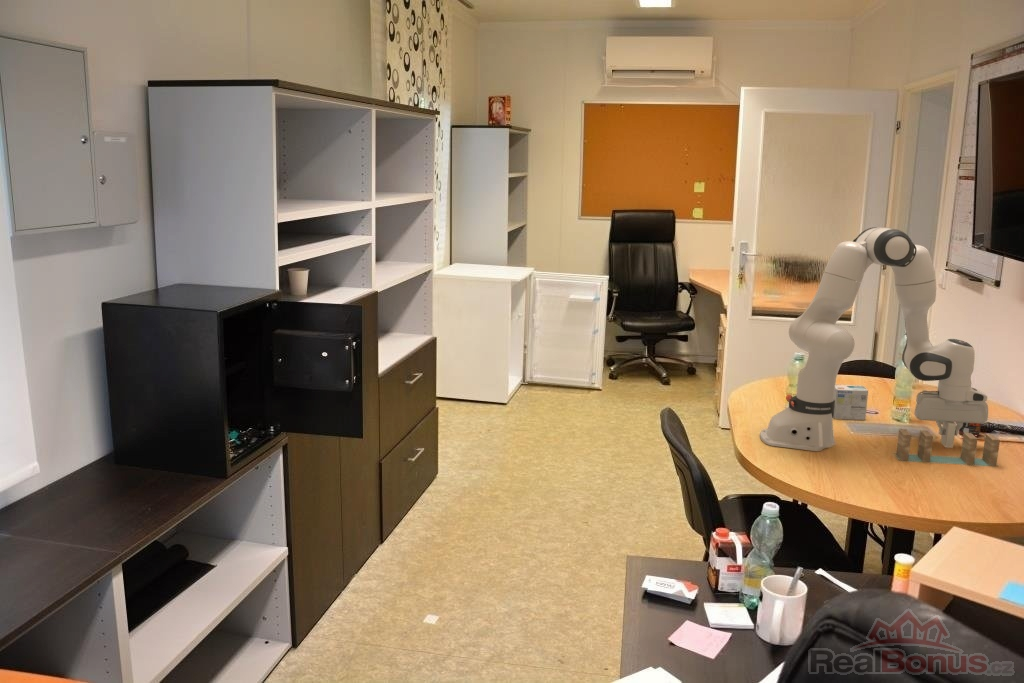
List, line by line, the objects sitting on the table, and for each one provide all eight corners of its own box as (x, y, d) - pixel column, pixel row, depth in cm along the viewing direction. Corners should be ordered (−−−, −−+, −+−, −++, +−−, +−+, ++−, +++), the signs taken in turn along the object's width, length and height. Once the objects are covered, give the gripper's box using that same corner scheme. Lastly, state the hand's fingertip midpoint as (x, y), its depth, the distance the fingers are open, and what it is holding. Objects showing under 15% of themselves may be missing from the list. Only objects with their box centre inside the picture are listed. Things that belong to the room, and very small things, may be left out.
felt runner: (899, 461, 238) (899, 460, 238) (893, 454, 244) (893, 453, 244) (998, 467, 234) (998, 466, 234) (990, 460, 240) (990, 459, 239)
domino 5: (988, 465, 234) (992, 439, 233) (982, 459, 239) (985, 433, 237) (996, 466, 234) (1000, 439, 232) (989, 459, 239) (993, 434, 237)
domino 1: (900, 460, 238) (904, 434, 236) (896, 454, 243) (899, 429, 241) (908, 460, 238) (911, 435, 236) (903, 454, 243) (906, 429, 241)
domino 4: (966, 464, 235) (970, 438, 234) (960, 458, 240) (963, 432, 238) (973, 464, 235) (977, 438, 233) (967, 458, 240) (971, 433, 238)
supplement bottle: (968, 438, 258) (973, 404, 256) (954, 432, 264) (958, 399, 261) (983, 436, 260) (988, 403, 257) (969, 430, 266) (973, 397, 263)
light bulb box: (859, 414, 282) (862, 384, 280) (866, 420, 275) (869, 390, 273) (828, 413, 283) (831, 383, 281) (833, 419, 276) (836, 389, 274)
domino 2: (922, 461, 237) (925, 435, 235) (917, 455, 242) (920, 430, 240) (929, 462, 237) (933, 436, 235) (924, 455, 242) (927, 430, 240)
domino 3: (945, 448, 249) (949, 423, 247) (940, 442, 254) (943, 418, 252) (952, 448, 249) (956, 424, 247) (947, 443, 253) (950, 419, 252)
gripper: (920, 393, 246) (915, 435, 249) (993, 396, 243) (986, 440, 246) (914, 387, 252) (909, 429, 255) (985, 390, 249) (978, 433, 252)
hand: (947, 434), depth 250 cm, fingers closed on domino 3, 2 cm apart
